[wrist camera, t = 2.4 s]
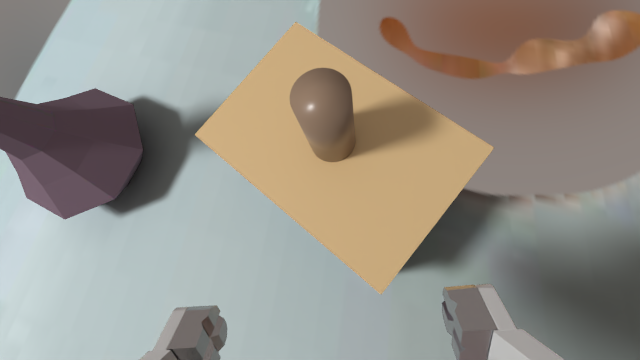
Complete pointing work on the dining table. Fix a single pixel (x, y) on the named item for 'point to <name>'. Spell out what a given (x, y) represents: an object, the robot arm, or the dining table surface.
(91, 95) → the flask
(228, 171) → the dining table surface
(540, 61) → the dining table surface
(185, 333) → the robot arm
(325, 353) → the dining table surface
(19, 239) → the dining table surface
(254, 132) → the lid
